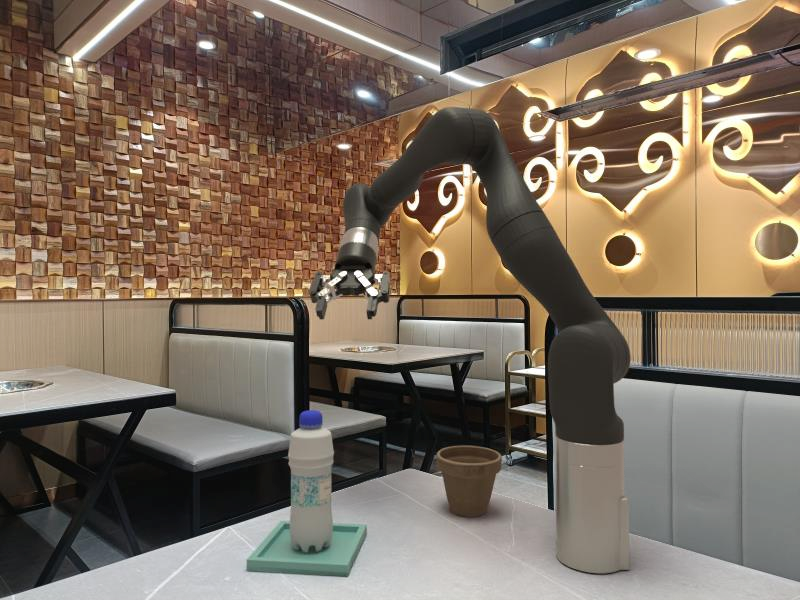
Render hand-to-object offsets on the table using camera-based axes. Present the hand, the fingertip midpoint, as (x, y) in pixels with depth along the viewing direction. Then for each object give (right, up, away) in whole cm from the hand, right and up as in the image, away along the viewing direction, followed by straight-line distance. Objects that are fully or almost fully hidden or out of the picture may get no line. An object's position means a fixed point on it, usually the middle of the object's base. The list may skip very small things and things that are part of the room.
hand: (344, 316), depth 97 cm
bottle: (-4, -34, -14) cm, 37 cm away
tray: (-4, -34, -14) cm, 37 cm away
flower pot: (+22, -34, +2) cm, 41 cm away
